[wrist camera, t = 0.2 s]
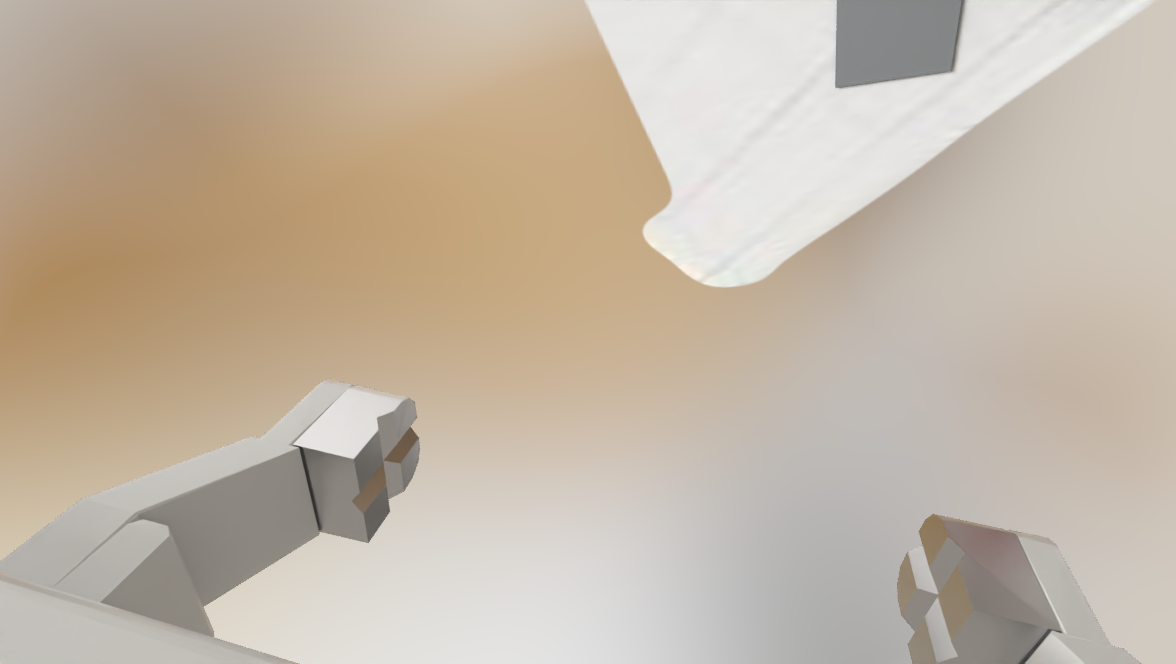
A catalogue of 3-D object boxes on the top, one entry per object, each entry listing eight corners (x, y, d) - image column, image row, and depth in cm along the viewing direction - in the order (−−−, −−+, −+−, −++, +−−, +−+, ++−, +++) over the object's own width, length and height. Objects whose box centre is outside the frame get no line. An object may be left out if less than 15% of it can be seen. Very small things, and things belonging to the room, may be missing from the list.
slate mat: (835, 85, 54) (835, 87, 54) (837, -23, 48) (837, -22, 48) (950, 69, 51) (950, 71, 51) (968, -50, 45) (969, -48, 44)
